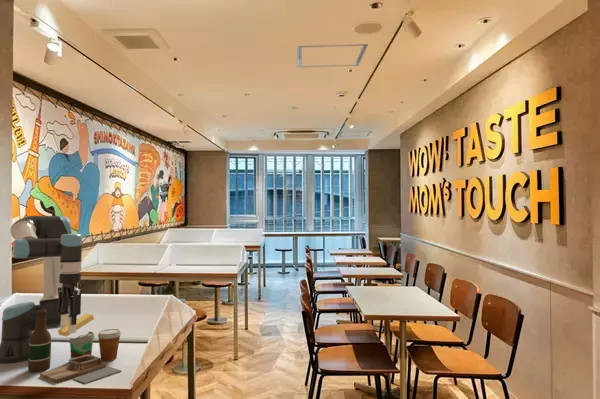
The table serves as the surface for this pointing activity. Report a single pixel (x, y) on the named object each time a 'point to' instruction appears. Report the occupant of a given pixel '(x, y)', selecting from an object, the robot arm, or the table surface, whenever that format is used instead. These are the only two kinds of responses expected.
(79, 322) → the mustard bar
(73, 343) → the food container
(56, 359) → the table surface
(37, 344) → the beer bottle
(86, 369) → the walnut jig
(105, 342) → the disposable coffee cup
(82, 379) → the charcoal mat
